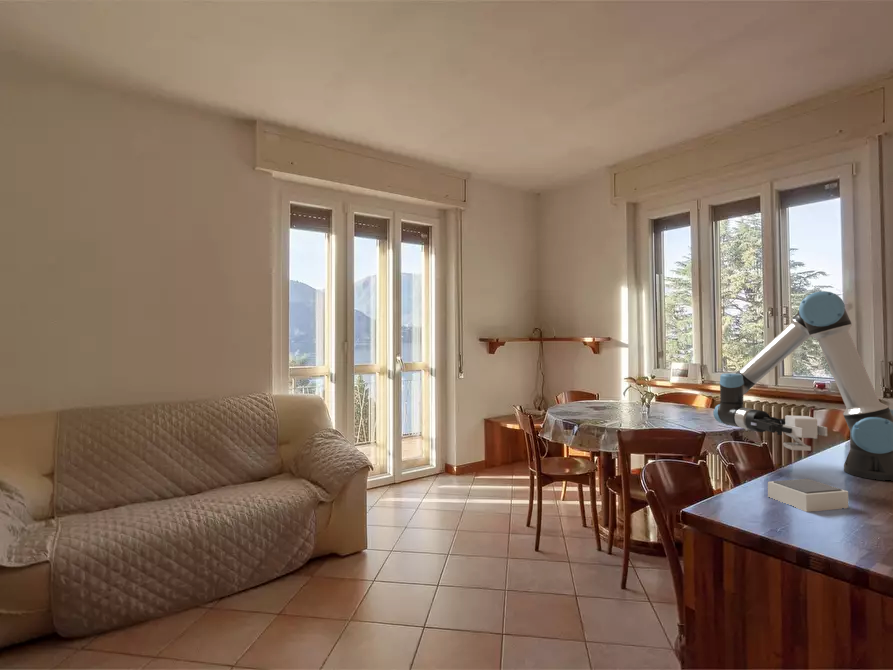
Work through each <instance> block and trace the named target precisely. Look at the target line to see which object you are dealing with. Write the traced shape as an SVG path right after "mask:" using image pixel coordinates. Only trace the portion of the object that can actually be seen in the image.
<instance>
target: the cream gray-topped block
mask: <svg viewBox="0 0 893 670" xmlns="http://www.w3.org/2000/svg"><path fill="white" fill-rule="evenodd" d="M768 497H770V498H769V499H771V498H773V499H772V500H774V499H775V500H774V501H776V500H778V501H777V502H779V501H780V502H779V503H782V502H783V503H782V504H784V503H786V504H785V505H787V504H789V505H792V506H794V507H793V508H795V507H796V509H797V508H798V510H800V509H801V511H803V512H806V513H808V512H809V513H810V512H820V511H831V510H842V508H844V509H849V491H848V490H844V489H842V488H839V487H835V486H832V485H829V484H826V483H823V482H819V481H817V480H816V481H815V480H813V479H809V478H801V479H799V478H798V479H796V478H795V479H785V480H774V481H773V480H772V481H767V498H768ZM789 505H788V506H789ZM792 506H791V507H792Z"/></svg>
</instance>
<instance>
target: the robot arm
mask: <svg viewBox="0 0 893 670" xmlns="http://www.w3.org/2000/svg"><path fill="white" fill-rule="evenodd" d="M798 307H799V308H798V310H799V311H798V312H797V313H796V314H795V315H794V316H792V318H791V323H789V325H788V326H785V328H784V329H783V330H782V331H781V332H779V333H778V335H776V336H775V337H774V338H773V339H772V340H771V341H769V343H768V344H766V345H765V346H764V347H763V348H762V349H761V350H760V351H759V352H758V353H756V354H755V355H754V356H753V357H752V358H751V359H749V361H748V362H746V363H745V364H744V365H743V366H742V367H741V368H740V369H739V370H738V371H736V372H735V373H731V372H730V373H729V372H728V373H726V372H725V373H724V372H723V373H722V374H720V377H719V380H720V381H719V391H720V393H719V394H720V395H719V397H720V400H719V401H720V402H719V404H717V405H715V407H714V410H713V414H712V415H713V417H714V419H715V421H716V422H718V423H720V424H724V425H726V426H730V427H736V428H740V429H744V430H745V431H753V432H756V433H764V432H769V433H773V434H774V433H777V434H776V435H778V436H782V435H783V434H785V435H786V434H789V435H793V436H798V438H800V437H804V428H799V427H794V426H789V425H785V418H784V417H783V418H778V417H775V416H770V415H769V413H768V412H766V411H765V410H761V409H754V408H750V407H744V395H746V394H747V393H748V392H749V390H752V388H753V387H754V386H755V385H756V384H757V383H759V382H760V381H761V380H762V379H763V378H765V376H766V375H768V374H770V372H771V371H772V370H774V369H775V367H777V366H778V365H779V364H780V363H782V361H784V360H785V359H786V358H787V357H788V356H790V355H791V354H792V353H793V352H794V351H795V350H797V349H798V348H799V347H800V346H801V345H802V344H803V343H804V342H806V341H807V340H808V339H810V337H812V338H813V339H816V340H817V342H818V344H819V347H820V349H821V351H822V354H823V357H824V358H825V361H826V363H827V365H828V367H829V370H830V372H831V375H832V377H833V379H834V382H835V384H836V386H837V389H838V392H839V394H840V396H841V398H842V401H843V403H844V406H845V407H846V408H845V409H844V411H843V412H842V415H843V417H844V420H845V423H846V425H847V427H848V430H849V451H848V454H847V457H845V461H844V463H843V471H844V473H846V474H849V475H853V476H854V477H855V476H856V477H859V478H863V479H869V480H875V479H876V480H877V481H885V480H891V481H890V482H893V409H891V408H890V407H889V405H887V404H885V403H882V402H881V401H880V399H879V397H878V394H877V393H876V391H875V388H874V386H873V383H872V382H871V379H870V377H869V374H868V373H867V370H866V367H865V366H864V363H863V361H862V357H861V356H860V354H859V352H858V349H857V347H856V345H855V343H854V341H853V338H852V336H851V334H850V329H851V328H852V326H853V324H852V321H851V319H850V316H849V315H848V312H847V310H846V308H845V302H844V300H843V299H842V298H841V297H840V296H839V295H837V294H836V293H833V292H831V291H826V290H823V291H822V290H820V291H815V292H813V293H810V294H808V295H806V296H805V297H804V298H803V299H802V300H801V301H800V304H799V306H798ZM817 436H822V437H823V436H824V437H828V427H827V426H822V425H817Z"/></svg>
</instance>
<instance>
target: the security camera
mask: <svg viewBox="0 0 893 670" xmlns="http://www.w3.org/2000/svg"><path fill="white" fill-rule="evenodd" d="M784 417H785V425H789V426H794V427H799V428H804V437H798V436H793V435H789V434H785V435H786V436H788V437H790V438H791V439H792V440H794V441H795V442H789V441H788V442H786V441H785V442H784V441H783V445H782V446H783V447H784V448H786V449H789V450H791V451H807V452H808V451H812V446H811V445H808V444H806V443H805V442H803V441H802V440H801V439H800V438H804V439H805V438H806V439H815V440H817V439H818V435H817V426H818V419H817V418H815V417H812V416H809V415H788V414H786V415H785V416H784Z"/></svg>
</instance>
